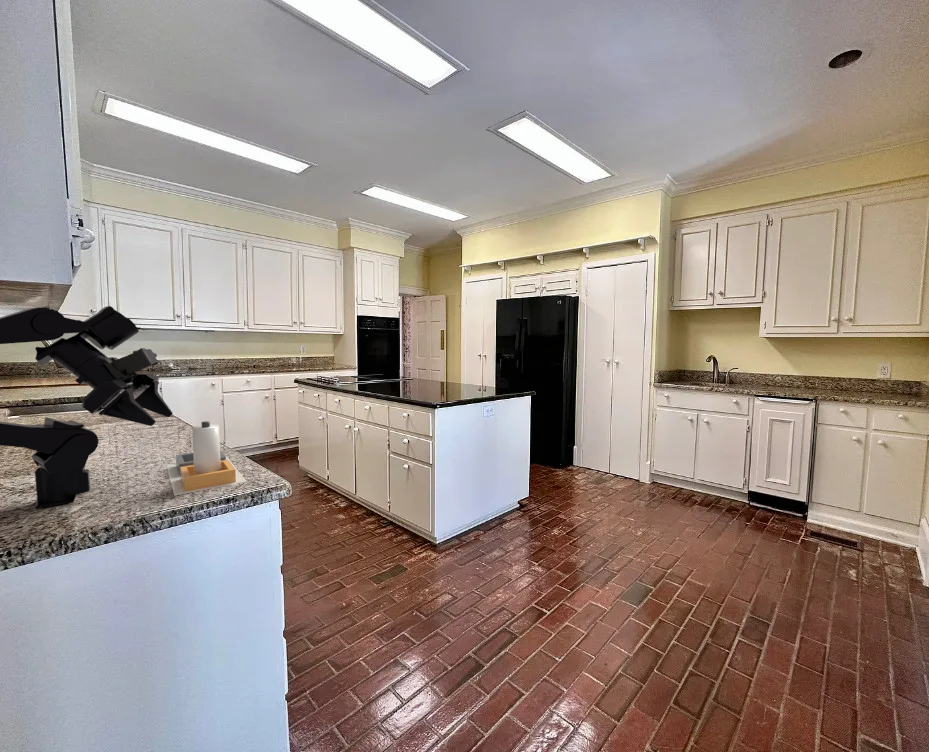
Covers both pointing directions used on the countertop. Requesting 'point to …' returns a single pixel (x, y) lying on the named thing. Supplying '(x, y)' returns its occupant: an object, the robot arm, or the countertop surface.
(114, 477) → the countertop surface
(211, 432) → the white bottle
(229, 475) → the dock
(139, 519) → the countertop surface
